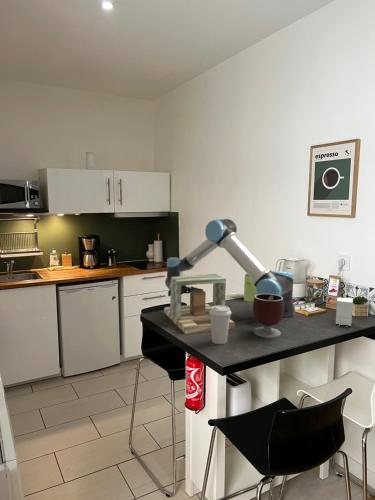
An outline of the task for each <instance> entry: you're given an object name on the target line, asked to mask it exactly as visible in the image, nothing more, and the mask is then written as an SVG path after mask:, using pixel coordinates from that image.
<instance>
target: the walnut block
mask: <svg viewBox="0 0 375 500" xmlns="http://www.w3.org/2000/svg"><path fill="white" fill-rule="evenodd" d="M205 304H206V291H204V289H203V290H190V293H189V305H190V314H191V315H193V316H194V317H196V316H205Z"/></svg>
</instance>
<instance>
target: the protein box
mask: <svg viewBox="0 0 375 500" xmlns="http://www.w3.org/2000/svg"><path fill="white" fill-rule="evenodd" d="M253 284H254V281H253V279H252V278H251V277H250V276H249V275H248V274H247V273H245V275H244V285H243V286H244V287H243V288H244V289H243V302H252V303H253V302H254V298H255V295H257V289H256V287H255V286H254V285H253Z"/></svg>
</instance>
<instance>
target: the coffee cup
mask: <svg viewBox="0 0 375 500" xmlns="http://www.w3.org/2000/svg"><path fill="white" fill-rule="evenodd" d="M209 313H210V317H211V331H210V332H211V342H212V343H213V344H215V345H224V344H227V343H228V337H229V336H228V335H229V330H230V329H229V321H230V320H231V315H232V310H231V308H230V307H229V306H227V305H225V306H220V305H218V306H213V305H212V306H211V309H210V311H209Z"/></svg>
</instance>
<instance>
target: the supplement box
mask: <svg viewBox="0 0 375 500" xmlns="http://www.w3.org/2000/svg"><path fill="white" fill-rule="evenodd" d="M353 307H354V298H349V297H346V298H345V297H337V300H336V312H335V325H336V324H339V325H338V326H340V325H349V326H351V327H352V323H353V322H352V321H353V318H352V317H353Z"/></svg>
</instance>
